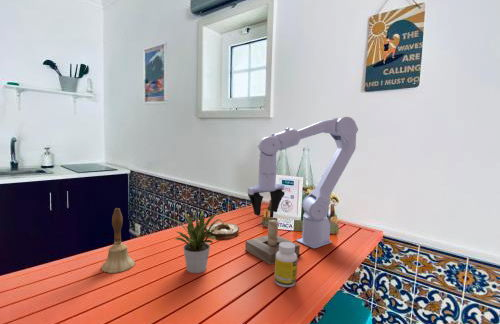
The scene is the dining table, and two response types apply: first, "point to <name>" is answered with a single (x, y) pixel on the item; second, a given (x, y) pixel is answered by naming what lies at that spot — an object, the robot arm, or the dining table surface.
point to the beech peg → (272, 233)
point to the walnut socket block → (266, 248)
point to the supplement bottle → (286, 265)
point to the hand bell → (117, 249)
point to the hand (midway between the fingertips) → (265, 213)
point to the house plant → (197, 243)
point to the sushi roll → (224, 230)
